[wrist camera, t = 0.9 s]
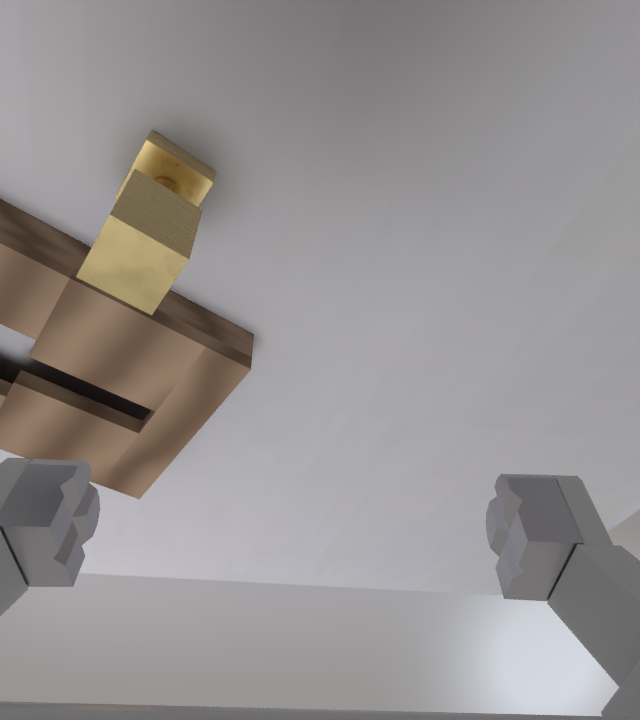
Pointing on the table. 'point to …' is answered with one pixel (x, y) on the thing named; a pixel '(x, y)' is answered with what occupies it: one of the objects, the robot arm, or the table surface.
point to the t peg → (149, 226)
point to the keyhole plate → (106, 362)
